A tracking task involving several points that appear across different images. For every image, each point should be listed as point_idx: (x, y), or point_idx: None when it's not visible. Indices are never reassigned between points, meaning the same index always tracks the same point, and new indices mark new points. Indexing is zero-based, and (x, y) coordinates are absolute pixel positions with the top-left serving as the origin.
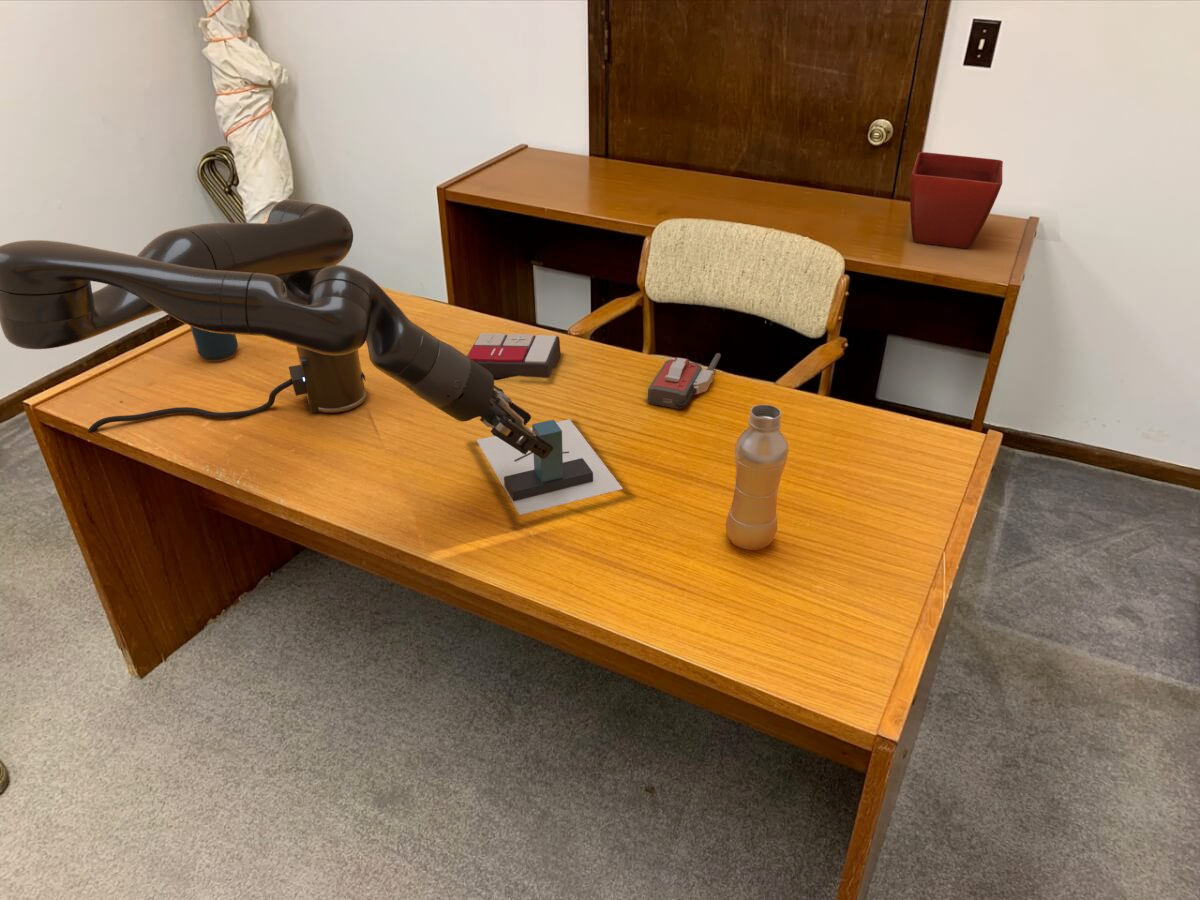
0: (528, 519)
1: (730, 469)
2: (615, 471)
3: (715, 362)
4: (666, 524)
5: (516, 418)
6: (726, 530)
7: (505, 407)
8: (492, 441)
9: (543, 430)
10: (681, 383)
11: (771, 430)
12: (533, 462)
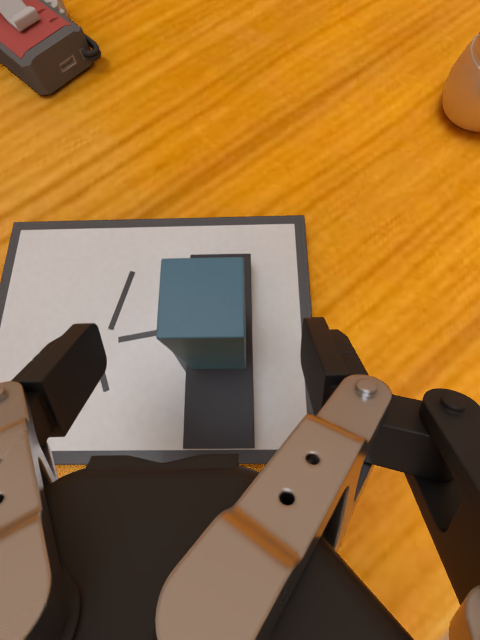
0: None
1: (285, 67)
2: None
3: None
4: (395, 200)
5: (348, 477)
6: (477, 121)
7: (293, 578)
8: None
9: (216, 314)
10: (46, 16)
11: None
12: (131, 352)
